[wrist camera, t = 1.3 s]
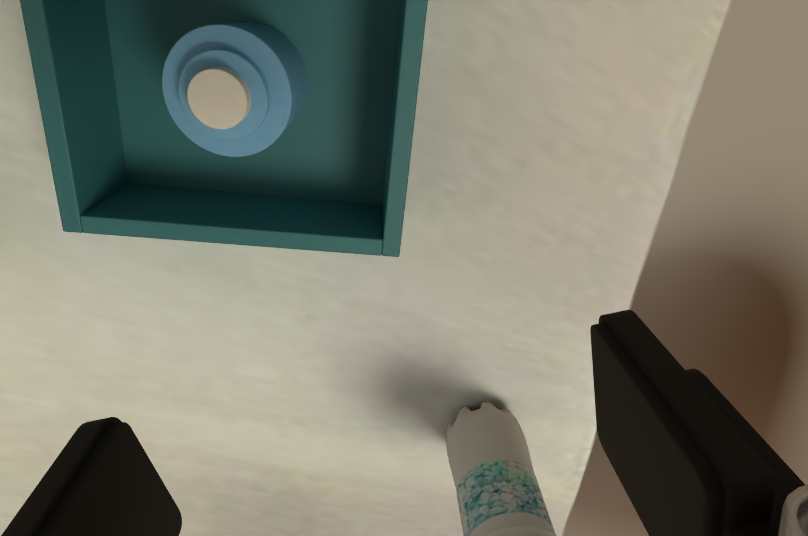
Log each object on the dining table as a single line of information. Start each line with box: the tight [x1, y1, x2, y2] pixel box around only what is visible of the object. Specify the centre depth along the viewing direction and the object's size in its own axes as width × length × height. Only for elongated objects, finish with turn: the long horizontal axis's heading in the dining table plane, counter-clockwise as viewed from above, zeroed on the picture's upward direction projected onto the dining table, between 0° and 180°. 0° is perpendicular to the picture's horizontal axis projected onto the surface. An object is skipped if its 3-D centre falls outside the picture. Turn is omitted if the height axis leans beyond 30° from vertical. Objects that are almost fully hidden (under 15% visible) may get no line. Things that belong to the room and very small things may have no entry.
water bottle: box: [162, 22, 308, 157], centre depth 27 cm, size 6×6×8 cm
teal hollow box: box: [20, 0, 428, 257], centre depth 28 cm, size 16×18×7 cm
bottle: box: [446, 402, 557, 536], centre depth 35 cm, size 7×7×20 cm
